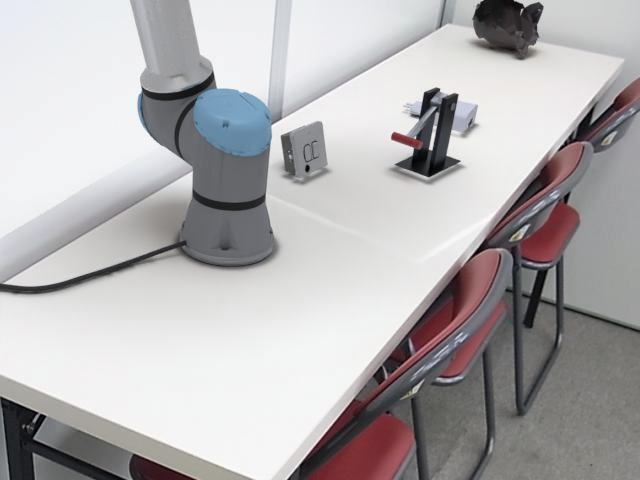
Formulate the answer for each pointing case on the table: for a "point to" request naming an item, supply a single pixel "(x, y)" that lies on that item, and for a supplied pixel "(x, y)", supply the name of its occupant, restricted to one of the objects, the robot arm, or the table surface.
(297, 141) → the electrical switch
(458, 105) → the charger
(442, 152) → the bracket
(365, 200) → the table surface
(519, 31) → the dark grey rounded piece
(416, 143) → the lever
